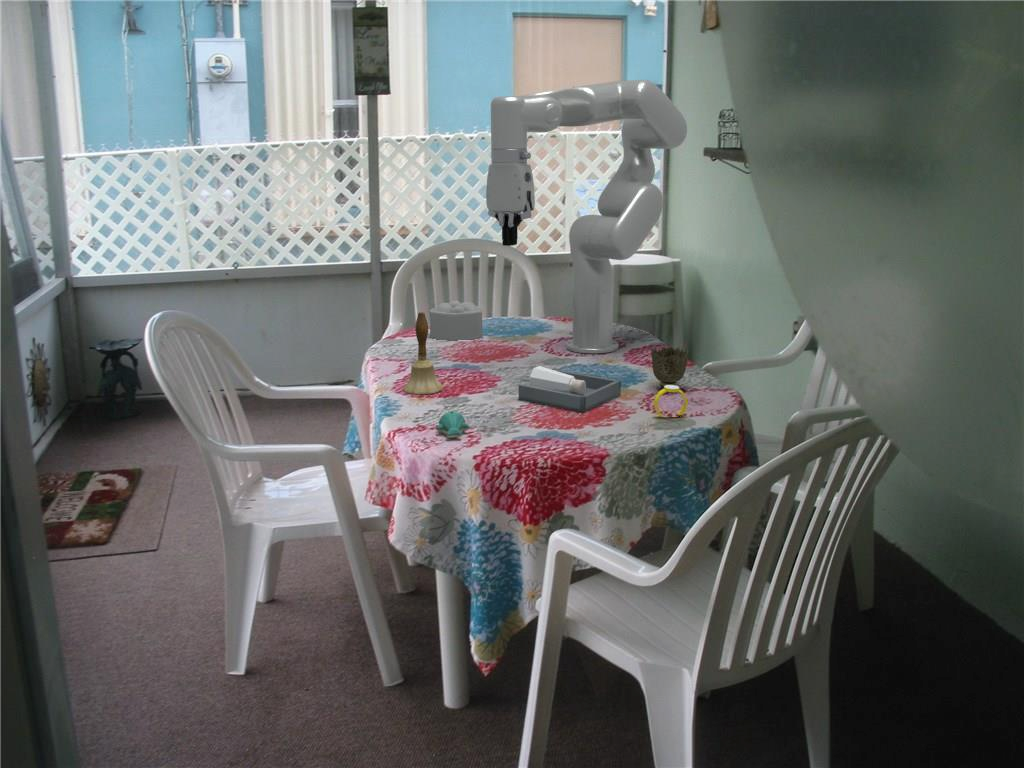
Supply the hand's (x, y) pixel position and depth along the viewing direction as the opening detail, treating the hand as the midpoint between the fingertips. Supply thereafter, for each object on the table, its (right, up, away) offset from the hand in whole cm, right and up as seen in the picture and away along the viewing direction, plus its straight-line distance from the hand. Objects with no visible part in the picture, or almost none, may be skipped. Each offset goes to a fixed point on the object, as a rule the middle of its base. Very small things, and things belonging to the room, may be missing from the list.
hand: (509, 244), depth 202 cm
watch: (+30, -36, -29) cm, 55 cm away
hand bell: (-18, -31, -10) cm, 37 cm away
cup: (+32, -31, -10) cm, 46 cm away
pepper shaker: (+5, -29, -12) cm, 32 cm away
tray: (+12, -33, -16) cm, 38 cm away
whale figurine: (-10, -39, -37) cm, 55 cm away
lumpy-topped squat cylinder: (-14, -18, +36) cm, 43 cm away
